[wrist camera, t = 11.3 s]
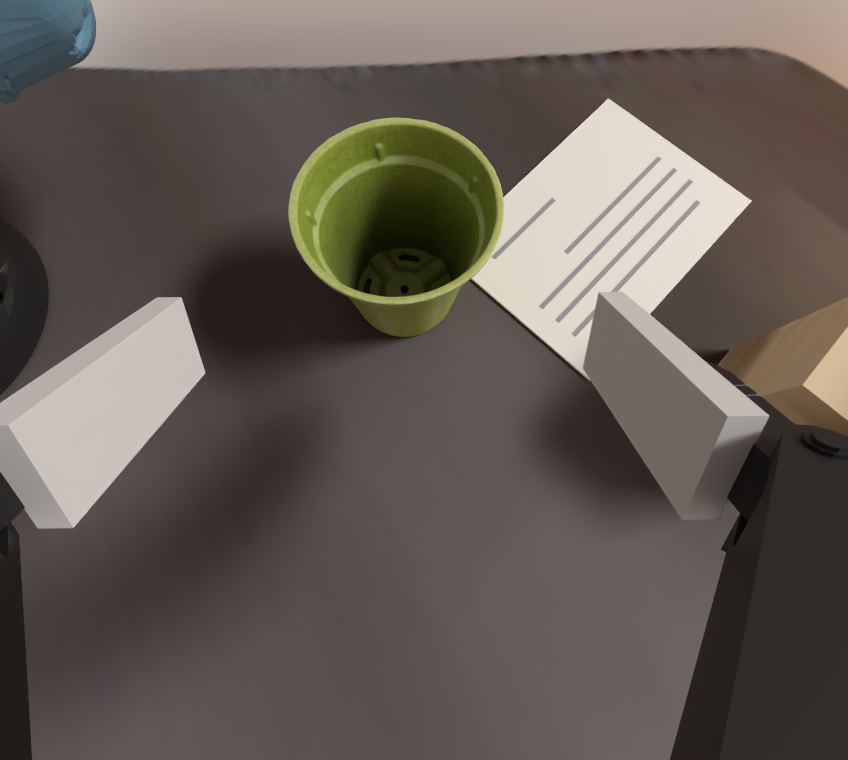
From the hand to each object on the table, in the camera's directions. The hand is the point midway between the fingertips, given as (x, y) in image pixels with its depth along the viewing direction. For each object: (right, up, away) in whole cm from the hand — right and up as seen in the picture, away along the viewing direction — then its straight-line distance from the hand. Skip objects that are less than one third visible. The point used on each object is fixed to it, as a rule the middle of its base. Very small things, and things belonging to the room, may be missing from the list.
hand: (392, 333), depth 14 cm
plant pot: (0, +4, +13) cm, 14 cm away
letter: (+13, +8, +14) cm, 21 cm away
